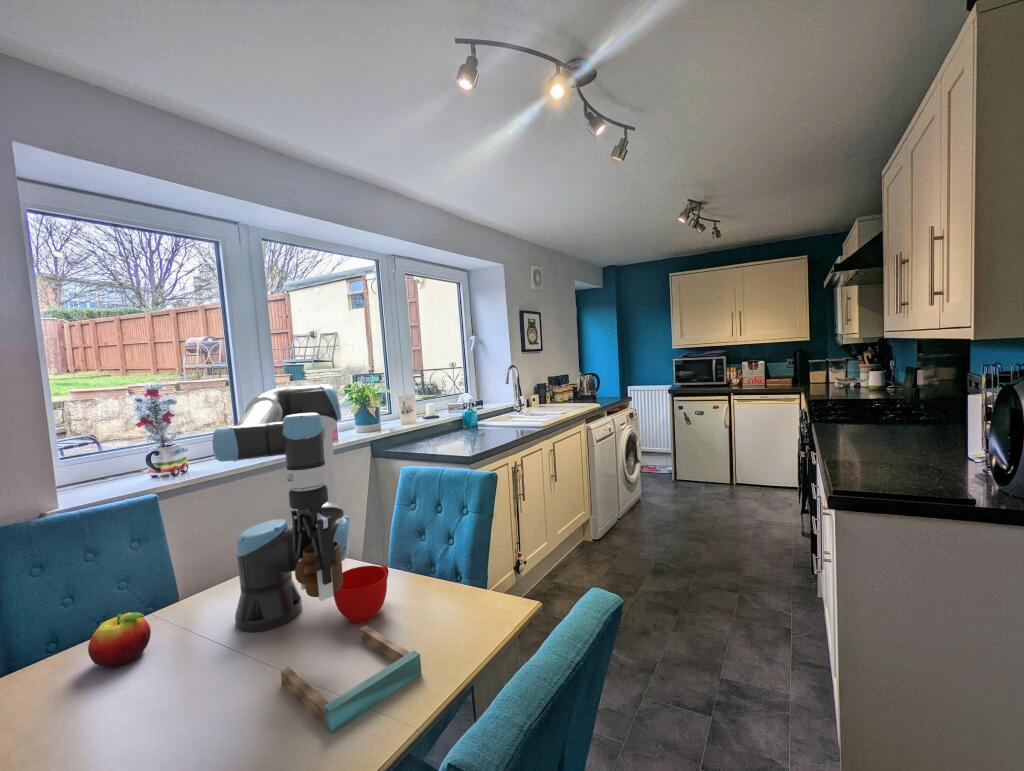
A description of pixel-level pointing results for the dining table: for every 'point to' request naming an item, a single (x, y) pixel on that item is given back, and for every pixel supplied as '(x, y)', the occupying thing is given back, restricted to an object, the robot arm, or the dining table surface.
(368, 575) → the red bowl
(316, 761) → the dining table surface
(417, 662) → the u-shaped wooden frame
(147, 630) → the fruit
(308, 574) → the mug
